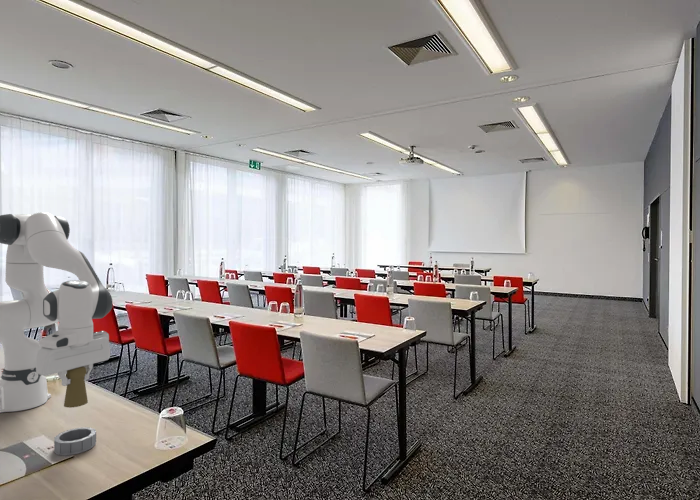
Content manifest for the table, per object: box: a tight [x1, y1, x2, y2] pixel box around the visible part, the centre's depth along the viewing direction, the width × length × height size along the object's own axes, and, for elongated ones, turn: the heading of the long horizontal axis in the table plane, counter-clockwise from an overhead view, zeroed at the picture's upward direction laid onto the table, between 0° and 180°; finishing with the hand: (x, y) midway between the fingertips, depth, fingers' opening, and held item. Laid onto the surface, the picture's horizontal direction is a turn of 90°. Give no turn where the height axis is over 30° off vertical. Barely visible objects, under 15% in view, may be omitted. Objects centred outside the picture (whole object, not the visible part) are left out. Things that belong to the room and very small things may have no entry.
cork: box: [63, 366, 89, 408], centre depth 128 cm, size 6×6×11 cm
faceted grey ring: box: [53, 426, 97, 457], centre depth 128 cm, size 10×10×4 cm
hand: (75, 382), depth 128 cm, fingers closed on cork, 4 cm apart
